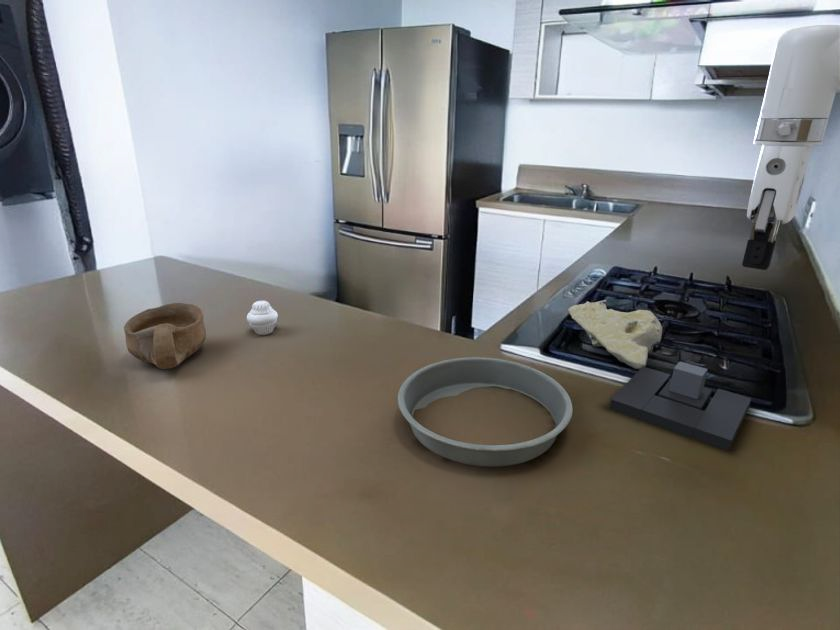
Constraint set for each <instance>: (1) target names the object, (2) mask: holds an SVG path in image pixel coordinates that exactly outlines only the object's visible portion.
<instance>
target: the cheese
mask: <svg viewBox="0 0 840 630" xmlns="http://www.w3.org/2000/svg"><path fill="white" fill-rule="evenodd" d="M603 302H604V303H603ZM605 302H607V299H604V300H599V301H594V302H590V301H586V302H585V303H580V304H573V305H572V306H570V307H568V310H567V311H568V313H569V315H570V316H571V319H572V320H573V321H575V322H576V323H577V325H579V326H581V328H582V329H584V331H585V333H586V334H587V335H588V336H589V339H590V341H591V343H592V346H593V347H595V348H596V347H597V348H599V347H601V348H604V349H606V352H608V353H610V354H611V355H612V356H613V357H615V358H616V359H617V360H618V361H619V362H620V363H624V364H626V365H627V366H629V367H631V368H632V369H634V370H638V371H639V370H640V369H641V368H642V367H646V366H647V362H648V356H649V355H648V353H650V352H651V351H652V350H651V346H652V344H654V343H656V342H659V343H660V342H661V339H662V336H663V325H662V324H661V322H660V321H659V319H658V318H657V316H655V314H654V313H653V312H652V311H651V310H647V309H638V310H633V311H630V312H629V311H628V312H624V311H619V310H614V309H613V308H609V309H607V305H606V304H605Z"/></svg>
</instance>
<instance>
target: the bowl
mask: <svg viewBox="0 0 840 630" xmlns="http://www.w3.org/2000/svg"><path fill="white" fill-rule="evenodd" d="M123 331H124V335H125V345H126V349H127V351H128V353H130V355H132V356H133V357H134V358H136V359H137V360H140V361H142V362H145V363H148V364H154V365H155V366H156V367H157V368H158V369H161V370H170V369H173V368H176V367H177V366H179V365H180V364H182V362H183V361H185V360H186V359H187V358H189V357H191V356H192V355H193V354H194V353H196V352H197V351H198V350H199V349H200V348H201V347H202V346H203V345H204V343H205V341H206V338H207V330H206V325H205V321H204V313H203V311H202V309H201V308H200V307H199V306H197V305H195V304H190V303H185V302H173V303H166V304H163V305H160V306H158V307H157V306H156V307H153V308H152V307H151V308H147V309H145V310H143V311H141V312H139V313H137V314H135V315H133V316H132V317H130V318H129V319H128V320H127V321H126V323H125V324H124V326H123Z"/></svg>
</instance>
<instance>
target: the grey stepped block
mask: <svg viewBox="0 0 840 630" xmlns="http://www.w3.org/2000/svg"><path fill="white" fill-rule="evenodd" d="M708 370H709V369H708V368H705V367H701V366H698V365H694V364H691V363H687V362H684V361H679V362H677V364H676V365H675V366H674V368H673V372H672V376H671V377H670V381H669V382H668V383H667V384H666V385H665V387H664V388H663V389H662V390H661V392H660V393H659V394H658V396H659V397H662V398H665V399H668V400H671V401H674V402H677V403H681V404H684V405H687V406H690V407H693V408H696V409H699V410H702V411H705V409H706V408H707V406H708V404H709V403H710V401H711V400H712V395H713V388H709V387H706V386H705V383H706V379H707V374H708Z"/></svg>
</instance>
